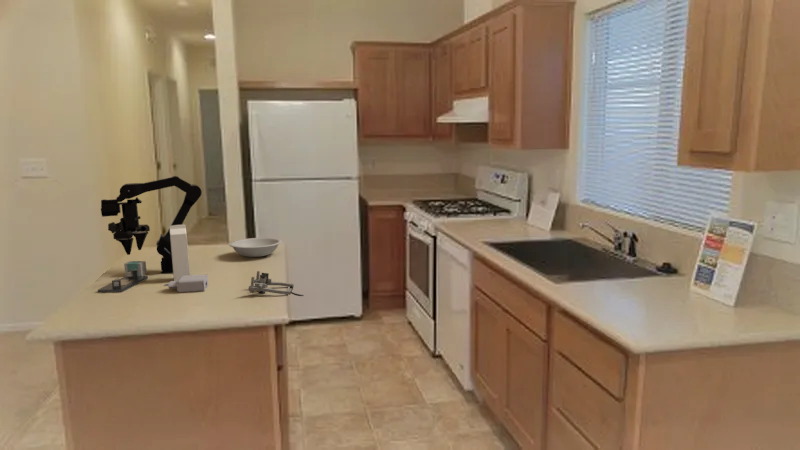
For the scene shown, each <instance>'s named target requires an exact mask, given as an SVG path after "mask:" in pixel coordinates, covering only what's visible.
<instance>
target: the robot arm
mask: <svg viewBox="0 0 800 450" xmlns="http://www.w3.org/2000/svg"><path fill="white" fill-rule="evenodd" d="M172 187H176V188H177V189H179V190H180V191H183V192H185V194H184V198H183V201H182V203H181V206H180V207H179V209H178V211H177V213H176V215H175V216H174V219H173V221H172V222H171V224H170V226H171V225H183V223H184V222H185V219H186V217H187V216H188V214H189V212H190V210H191V208H192V207H193V206H194V205H195V203H196V202H197V201H198V200H199V199H200V198H201V196H202V189H201V187H200V186H199V185H197V184H195V183H193V184H191V183H190V182H188V181H186V180H184V179H183V178H180V177H179V176H177V175H173V176H170V177H165V178H160V179H157V180H151V181H148V182H147V181H146V182H135V183H131V182H130V183H124V184H123V185H122V186H121V187H120V188H119V194H118V196H116V197H115V199H101V201H100V204H101V205H100V213H101V217H103V218H105V217H114V216H115V217H117V216H118V215H119V214H121V213H122V217H120V219H119V220H120V221H119V222H113V221H112V222H109V223H108V225H107V230H108V231H110V232H111V233H112V235H113V240H116V241H117V242H119V243H120V244H121V245H122V248H123V249H124V250H125V251H124V252H125V253H126V255H127V256H129V255H131V254H132V253H131V252H132V248H133V243H134V238H135V242H136V247H137V250H138V251H141V250H142V248H143V246H144V243H145V241H146V238H147V236H148V234H149V232H150V231H151V229H150V226H149V225H148V224H140V221H139V220H140V219H141V215H139V211H138V204H142V202H143V201H142V200H141V199H140V198H139V197H138V196H141V195H142V194H144V193H147V192H153V191H157V190H162V189H167V188H172ZM133 198H135V199H133ZM124 200H126V201H124ZM123 201H124V202H123ZM155 245H156V251H157V253H158V255H160V256H162V257H161V261H160V268H161V269H160V273H161V274H173V264H172V252H171V241H170V227H169V228H168V230H167V232H166V233H165V234H162V233H160V236H159V238H158V240H156V244H155Z"/></svg>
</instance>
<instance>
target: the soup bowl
mask: <svg viewBox="0 0 800 450" xmlns="http://www.w3.org/2000/svg"><path fill="white" fill-rule="evenodd" d="M282 242H283V240H281V239H279V238H275V237H252V238H251V237H250V238H242V239H236V240H233V241H231V242H229V244H228V245H229V247H231V248H233V250H234V251H235V252H236V253H237V254H238V255H241V256H243V257H249V258H257V257H265V256H268V255H271V254H272V253H274V252H275V251H276V250H277V248H278V246H279V245H280V244H282Z"/></svg>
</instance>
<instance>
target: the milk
mask: <svg viewBox="0 0 800 450" xmlns="http://www.w3.org/2000/svg"><path fill="white" fill-rule="evenodd" d="M186 227H187V226H186V224H182V225H171V224H170V225H169V228H170V241H171V252H172V264H173V273H172V274H173V281H178V279H179V278H180V277H182V276H188V275H191V270H190V259H189V247H188V235H187V228H186Z"/></svg>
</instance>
